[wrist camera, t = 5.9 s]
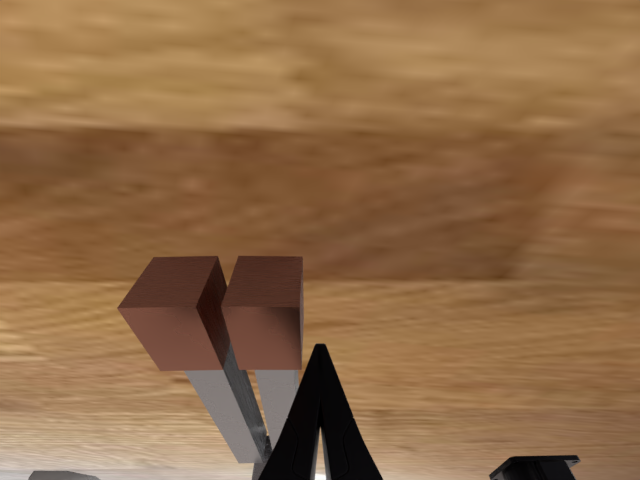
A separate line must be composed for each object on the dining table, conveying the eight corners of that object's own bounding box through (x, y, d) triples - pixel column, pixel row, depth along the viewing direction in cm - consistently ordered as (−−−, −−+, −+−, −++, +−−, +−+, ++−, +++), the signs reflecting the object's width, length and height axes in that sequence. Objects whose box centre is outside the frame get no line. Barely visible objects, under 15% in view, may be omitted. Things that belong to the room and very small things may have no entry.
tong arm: (305, 448, 25) (305, 490, 22) (259, 448, 24) (253, 490, 22) (302, 256, 11) (299, 311, 9) (200, 255, 11) (172, 311, 9)
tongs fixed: (292, 463, 27) (290, 499, 25) (254, 463, 27) (249, 500, 25) (242, 255, 11) (225, 306, 9) (153, 257, 11) (116, 308, 9)
